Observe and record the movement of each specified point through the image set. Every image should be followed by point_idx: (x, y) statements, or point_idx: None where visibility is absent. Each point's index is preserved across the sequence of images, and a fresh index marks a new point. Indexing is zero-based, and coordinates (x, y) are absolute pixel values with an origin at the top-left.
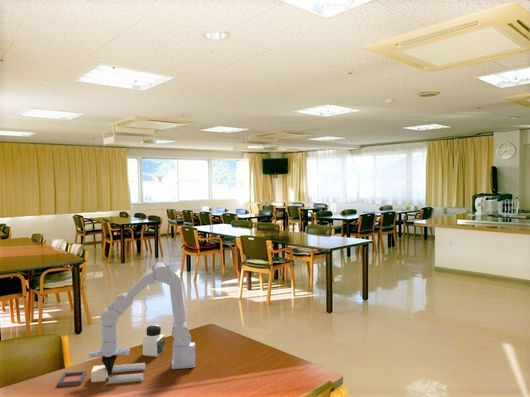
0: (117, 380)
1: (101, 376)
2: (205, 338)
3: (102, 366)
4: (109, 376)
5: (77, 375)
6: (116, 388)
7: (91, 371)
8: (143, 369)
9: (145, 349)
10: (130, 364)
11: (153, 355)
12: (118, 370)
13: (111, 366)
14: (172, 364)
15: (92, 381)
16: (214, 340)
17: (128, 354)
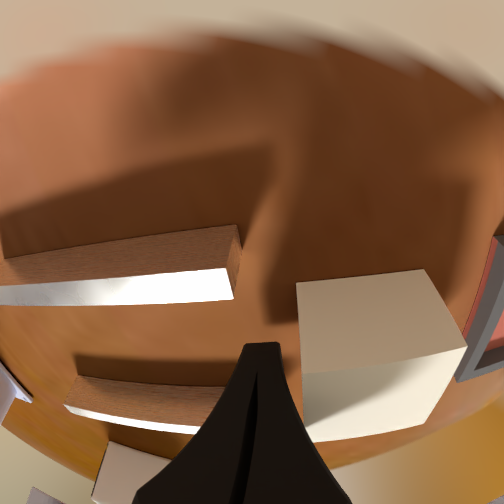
0: (138, 251)
1: (339, 315)
2: (60, 454)
3: (348, 428)
4: (221, 289)
5: (496, 344)
6: (110, 126)
7: (462, 354)
8: (83, 378)
9: None
10: (141, 424)
11: (125, 449)
12: None
13: (218, 424)
14: (3, 373)
15: (416, 273)
16: (34, 440)
17: (32, 493)
